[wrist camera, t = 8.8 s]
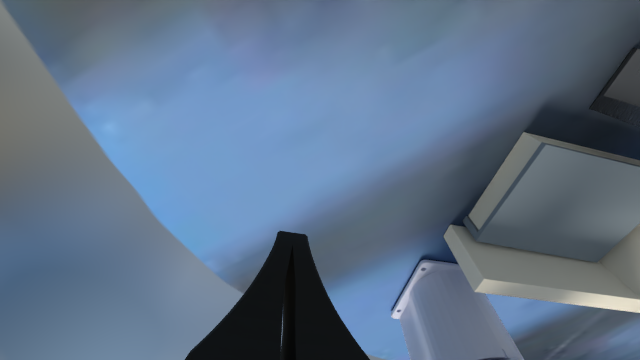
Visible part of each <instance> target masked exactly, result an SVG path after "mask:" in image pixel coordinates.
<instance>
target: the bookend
mask: <svg viewBox="0 0 640 360" xmlns="http://www.w3.org/2000/svg"><path fill="white" fill-rule="evenodd" d="M590 109H592V110H595V111H598V112H600V113H603V114H606V115H608V116H611V117H614V118H617V119H619V120H622V121H625V122H627V123H630V124H633V125H635V126H638V127H640V49H636V48H633V49H632V50H631V52H630V53H629V55H628V56H627V57H626V59H625V60H624V61H623V63H622V64H621V66H620V67H619V68H618V70H617V71H616V72H615V74H614V75H613V77H612V78H611V79H610V81H609V82H608V83H607V85H606V86H605V88H604V89H603V90H602V92H601V93H600V94H599V96H598V97H597V99H596V100H595V101H594V103H593V104H592V106H591V107H590Z"/></svg>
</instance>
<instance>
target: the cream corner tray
mask: <svg viewBox="0 0 640 360" xmlns="http://www.w3.org/2000/svg"><path fill="white" fill-rule="evenodd" d="M443 237H444V239H445V241H446V242H447V244H448V246H449V248H450V249H451V251H452V253H453V255H454V257H455V258H456V260H457V262H458V264H459V266H460V267H461V269H462V271H463V273H464V274H465V276H466V278H467V280H468V282H469V283H470V285H471V287H472V289H473V291H474V292H479V293H487V294H495V295H503V296H511V297H519V298H527V299H535V300H543V301H551V302H559V303H567V304H574V305H582V306H590V307H598V308H606V309H614V310H622V311H630V312H638V313H640V224H639V225H638V226H636V227H635V228H634V229H633V230H632V231H631V232H630V233H629V234H628V235H627V236H626V237H624V238H623V239H622V240H621V241H620V242H619V243H618V244H617V245H616V246H615V247H613V248H612V249H611V250H610V251H609V252H608V253H607V254H606V255H605V256H604V257H603V258H601V259H600V260H599V261H598V262H597V263H596V262H590V261H585V260H579V259H573V258H568V257H562V256H557V255H551V254H546V253H540V252H534V251H529V250H523V249H518V248H512V247H506V246H501V245H495V244H490V243H484V242H478V241H476V240H475V239H474V237H473V236H472V234H471V233H470V232H469V230H468V229H467V227H463V226H457V225H450V226H449V228H448V229H447V231H446V233H445V234H444V236H443Z"/></svg>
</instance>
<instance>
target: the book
mask: <svg viewBox="0 0 640 360" xmlns="http://www.w3.org/2000/svg"><path fill="white" fill-rule="evenodd" d="M468 216H469V217H467V216H465V218H464V220H463V223H464V224H465V226H466V227H467V229H468V230H469V232H470V233H471V234H472V236H473V237H474V239H475V240H476V241H478V242H484V243H490V244H495V245H501V246H506V247H512V248H518V249H523V250H529V251H534V252H540V253H546V254H551V255H557V256H562V257H568V258H573V259H579V260H585V261H590V262H596V263H597V262H598V261H599V260H600V259H601V258H603V257H604V256H605V255H606V254H607V253H608V252H609V251H610V250H611V249H612V248H613V247H615V246H616V245H617V244H618V243H619V242H620V241H621V240H622V239H623V238H624V237H626V236H627V235H628V234H629V233H630V232H631V231H632V230H633V229H634V228H635V227H636V226H638V225H639V224H640V160H636V159H632V158H628V157H624V156H620V155H616V154H612V153H608V152H603V151H599V150H595V149H591V148H587V147H583V146H579V145H575V144H571V143H566V142H562V141H558V140H554V139H550V138H546V137H542V136H538V135H534V134H530V133H525V132H523V134H522V135H521V137H520V138H519V140H518V141H517V143H516V144H515V146H514V147H513V149H512V150H511V152H510V153H509V155H508V156H507V158H506V159H505V161H504V162H503V164H502V165H501V167H500V168H499V170H498V171H497V173H496V175H495V176H494V178H493V179H492V181H491V182H490V184H489V185H488V187H487V188H486V190H485V191H484V193H483V194H482V196H481V197H480V199H479V200H478V202H477V203H476V205H475V206H474V208H473V209H472V211H471V212H470V214H469V215H468Z"/></svg>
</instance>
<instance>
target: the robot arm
mask: <svg viewBox="0 0 640 360" xmlns="http://www.w3.org/2000/svg"><path fill="white" fill-rule="evenodd" d="M282 315H283V335H282V346H281V332H282ZM391 316H392V318H395V319H400V323H401V327H402V330H403V334H404V338H405V341H406V345H407V349H408V352H409V356H410V360H524V358H523V357H522V355H521V353H520V352H519V350H518V348H517V347H516V345H515V343H514V341H513V340H512V338H511V336H510V335H509V333H508V331H507V330H506V328H505V326H504V325H503V323H502V321H501V320H500V318H499V316H498V315H497V313H496V311H495V309H494V308H493V306H492V304H491V303H490V301H489V299H488V298H487V296H486V294H485V293H479V292H474V291H473V289H472V287H471V285H470V283H469V282H468V280H467V278H466V276H465V274H464V273H463V271H462V269H461V267H460V266H459V264H454V263H447V262H439V261H432V260H422V261H421V262H420V263H419V265H418V266H417V268H416V270H415V272H414V274H413V275H412V277H411V279H410V281H409V282H408V284H407V286H406V288H405V289H404V291H403V293H402V295H401V296H400V298H399V300H398V302H397V303H396V305H395V307H394V309H393V310H392V312H391ZM185 360H370V359H369V358H368V356H367V355H366V354H365V353H364V351H363V350H362V349H361V347H360V346H359V345H358V343H357V342H356V341H355V339H354V338H353V336H352V335H351V333H350V332H349V330H348V329H347V327H346V326H345V324H344V323H343V321H342V320H341V318H340V316H339V315H338V313H337V311H336V310H335V308H334V306H333V304H332V302H331V300H330V299H329V297H328V295H327V292H326V290H325V288H324V286H323V284H322V281H321V279H320V277H319V274H318V272H317V269H316V266H315V263H314V260H313V257H312V254H311V251H310V247H309V243H308V238H307V236H306V235H305V234H298V233H291V232H284V231H279V232H278V233H277V237H276V241H275V243H274V246H273V248H272V250H271V252H270V254H269V256H268V258H267V260H266V261H265V263H264V265H263V267H262V268H261V270H260V272H259V273H258V275H257V276H256V278H255V279H254V281H253V282H252V284H251V285H250V287H249V288H248V289H247V291H246V292H245V293H244V295H243V296H242V297H241V299H240V300H239V301H238V302H237V303H236V305H235V306H234V307H233V308H232V309H231V311H230V312H229V313H228V314H227V315H226V316H225V317H224V318H223V319H222V321H221V322H220V323H219V324H218V325H217V326H216V327H215V328H214V329H213V330H212V331H211V332H210V333H209V334H208V335H207V336H206V337H205V338H204V339H203V340H202V341H201V342H200V343H199V344H198V345H197V346H195V347H194V348H193V349H192V350H191V351H190V353H189V354H188V356H187V357H186V359H185Z"/></svg>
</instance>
